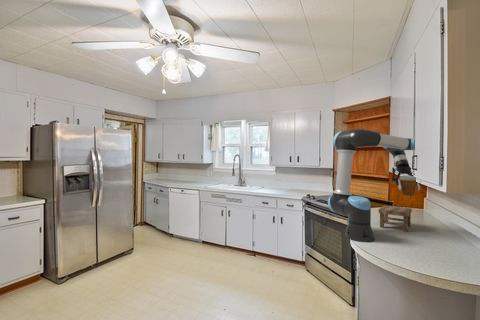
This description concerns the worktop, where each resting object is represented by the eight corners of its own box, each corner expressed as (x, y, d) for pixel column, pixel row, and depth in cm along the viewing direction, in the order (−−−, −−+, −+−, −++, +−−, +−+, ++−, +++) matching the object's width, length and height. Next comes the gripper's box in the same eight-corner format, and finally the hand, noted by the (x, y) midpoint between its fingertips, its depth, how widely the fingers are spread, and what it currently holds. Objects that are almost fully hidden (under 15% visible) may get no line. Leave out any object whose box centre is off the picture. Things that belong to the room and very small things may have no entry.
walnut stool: (378, 227, 157) (378, 209, 157) (384, 222, 169) (384, 205, 169) (408, 232, 147) (408, 212, 146) (411, 226, 158) (411, 208, 158)
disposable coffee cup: (411, 193, 156) (411, 175, 155) (420, 196, 146) (420, 177, 146) (396, 193, 157) (396, 175, 156) (404, 196, 147) (404, 177, 147)
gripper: (418, 166, 162) (428, 193, 148) (382, 166, 169) (388, 191, 155) (422, 158, 157) (432, 185, 142) (384, 159, 164) (390, 185, 149)
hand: (409, 189), depth 148 cm, fingers closed on disposable coffee cup, 9 cm apart
